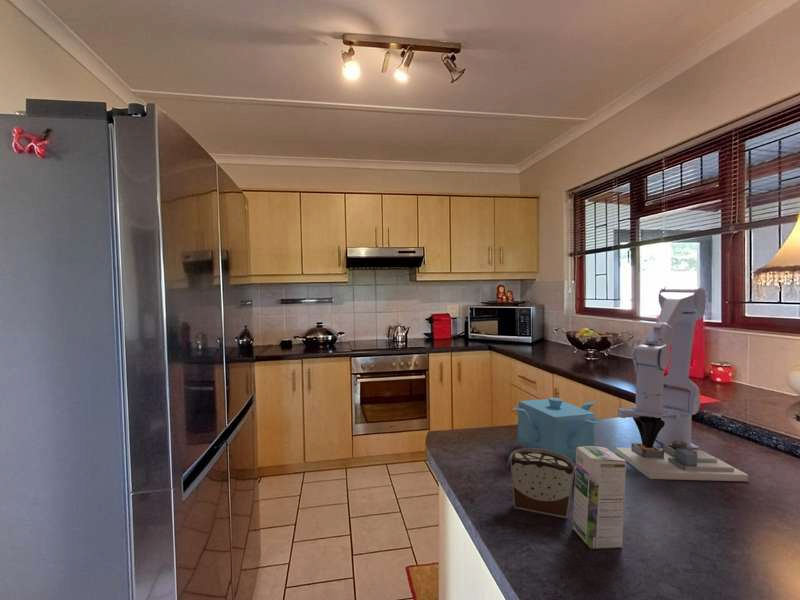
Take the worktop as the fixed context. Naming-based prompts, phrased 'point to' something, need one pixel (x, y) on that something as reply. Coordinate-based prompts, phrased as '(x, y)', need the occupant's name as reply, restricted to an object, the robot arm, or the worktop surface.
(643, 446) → the copper button
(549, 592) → the worktop surface
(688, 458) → the block
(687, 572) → the worktop surface
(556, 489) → the food container
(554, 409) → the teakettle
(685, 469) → the control panel
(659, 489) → the worktop surface
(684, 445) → the black button
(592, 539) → the syrup box
